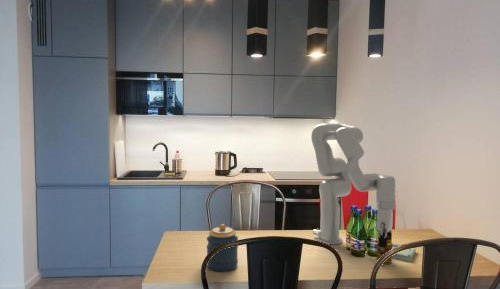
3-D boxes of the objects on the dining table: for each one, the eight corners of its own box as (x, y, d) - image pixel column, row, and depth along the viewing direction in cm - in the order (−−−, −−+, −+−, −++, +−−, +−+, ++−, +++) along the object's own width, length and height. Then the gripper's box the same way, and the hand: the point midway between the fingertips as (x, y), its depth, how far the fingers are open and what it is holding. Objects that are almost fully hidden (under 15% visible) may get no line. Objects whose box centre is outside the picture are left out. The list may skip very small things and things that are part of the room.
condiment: (382, 266, 147) (383, 238, 146) (369, 259, 155) (370, 232, 154) (396, 264, 149) (397, 237, 148) (383, 257, 157) (384, 231, 156)
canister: (207, 273, 138) (208, 229, 137) (205, 260, 151) (205, 220, 150) (240, 271, 141) (240, 228, 139) (235, 258, 153) (235, 219, 152)
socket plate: (377, 254, 160) (377, 248, 160) (384, 246, 172) (384, 240, 171) (410, 261, 152) (410, 255, 152) (415, 252, 164) (415, 246, 164)
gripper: (381, 200, 159) (380, 237, 160) (371, 207, 145) (371, 248, 146) (398, 202, 155) (398, 240, 156) (390, 209, 141) (390, 251, 141)
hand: (385, 243), depth 151 cm, fingers open, 9 cm apart
